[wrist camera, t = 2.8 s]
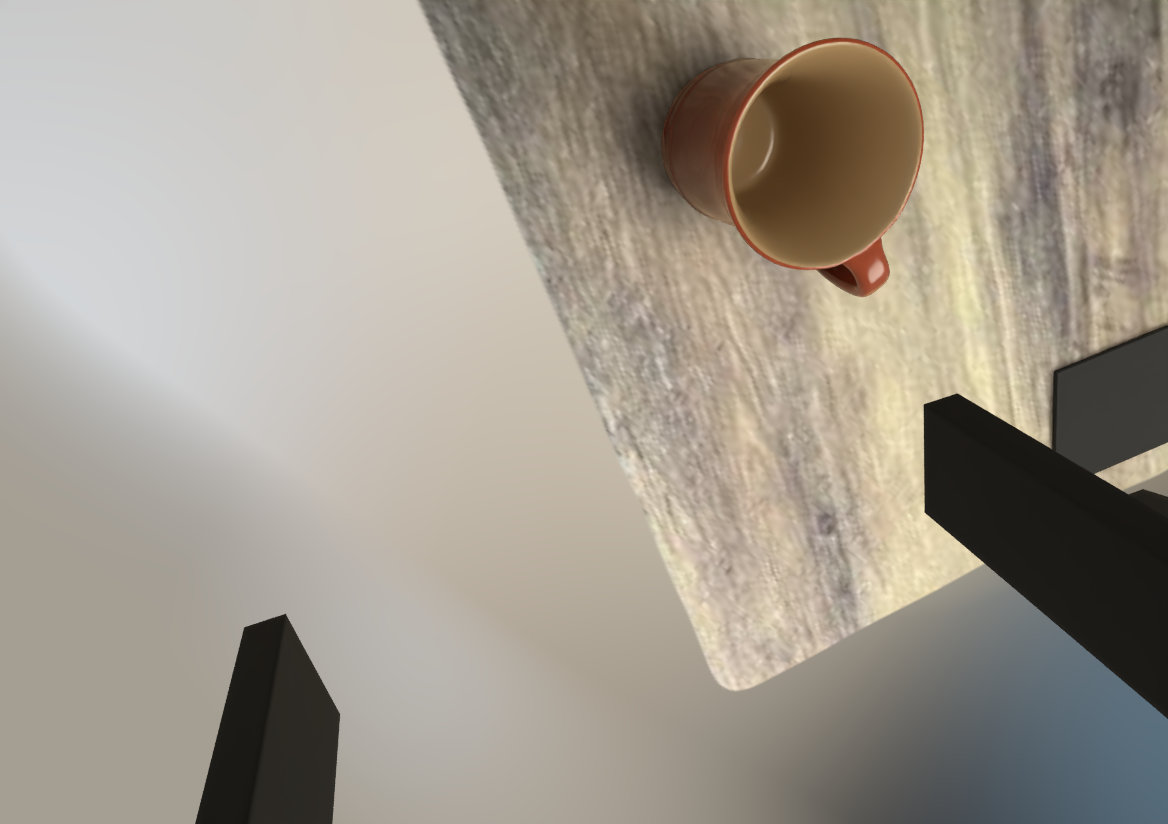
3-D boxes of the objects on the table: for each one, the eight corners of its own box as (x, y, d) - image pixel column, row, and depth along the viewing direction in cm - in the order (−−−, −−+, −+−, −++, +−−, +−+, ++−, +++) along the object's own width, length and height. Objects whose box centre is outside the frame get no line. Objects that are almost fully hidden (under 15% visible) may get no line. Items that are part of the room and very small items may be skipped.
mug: (606, 120, 37) (684, 138, 28) (748, 4, 36) (873, -16, 27) (724, 302, 43) (820, 365, 34) (848, 203, 42) (979, 241, 33)
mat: (1054, 371, 51) (1057, 373, 51) (1178, 320, 52) (1182, 321, 52) (1051, 488, 56) (1055, 490, 56) (1166, 439, 57) (1170, 441, 57)
